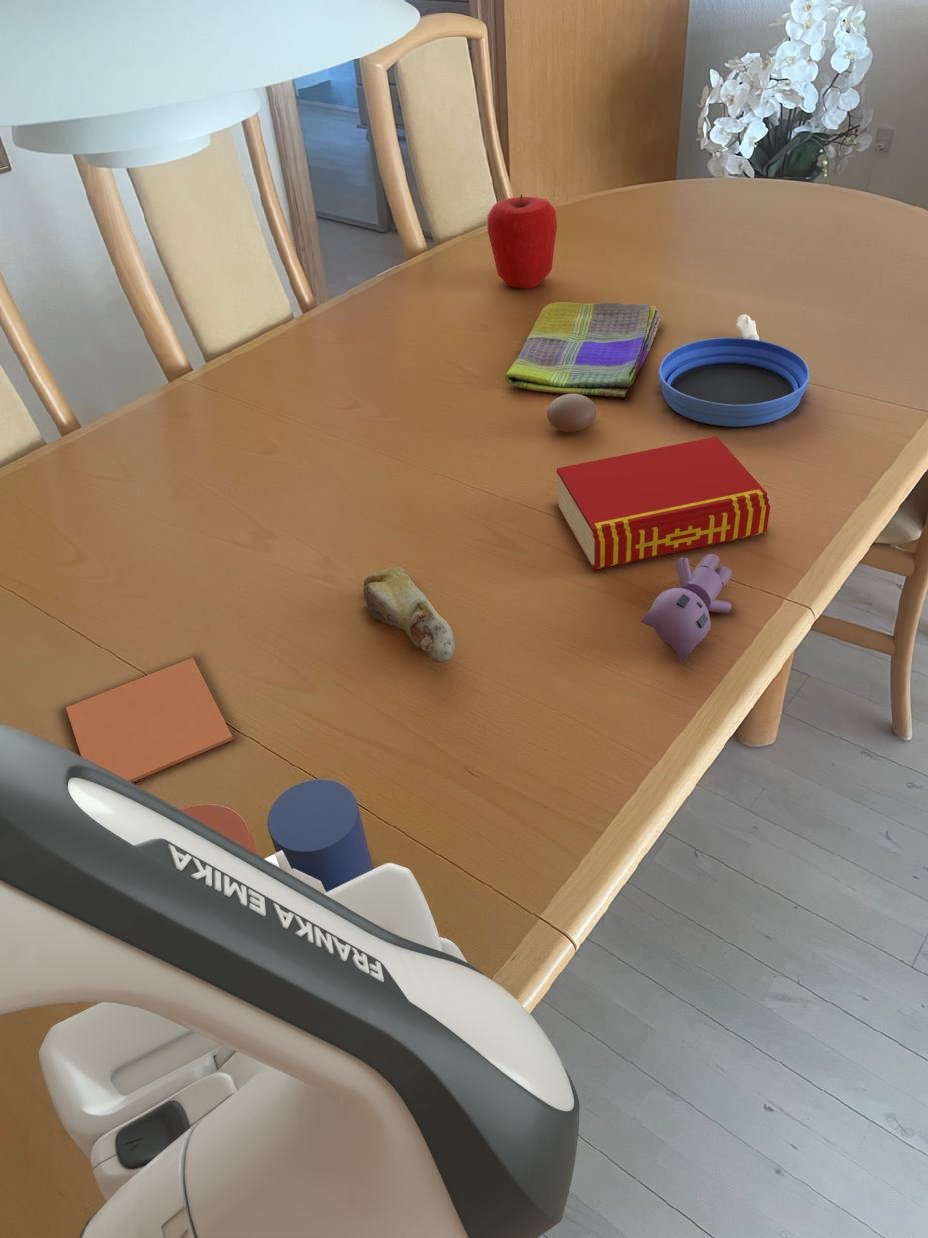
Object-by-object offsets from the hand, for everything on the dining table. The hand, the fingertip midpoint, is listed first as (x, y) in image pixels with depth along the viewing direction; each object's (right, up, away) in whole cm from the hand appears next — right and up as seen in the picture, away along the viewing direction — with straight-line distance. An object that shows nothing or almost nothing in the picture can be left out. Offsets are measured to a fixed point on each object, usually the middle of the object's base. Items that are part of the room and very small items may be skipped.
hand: (210, 890), depth 55 cm
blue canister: (+5, -5, +15) cm, 17 cm away
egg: (+28, +39, +65) cm, 80 cm away
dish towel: (+31, +52, +80) cm, 100 cm away
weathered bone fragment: (+9, +14, +38) cm, 42 cm away
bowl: (+48, +43, +68) cm, 94 cm away
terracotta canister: (+1, -4, +3) cm, 5 cm away
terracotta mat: (-14, +6, +31) cm, 35 cm away
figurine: (+35, +15, +36) cm, 52 cm away
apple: (+24, +69, +101) cm, 124 cm away
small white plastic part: (+53, +53, +79) cm, 109 cm away
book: (+35, +25, +48) cm, 65 cm away
